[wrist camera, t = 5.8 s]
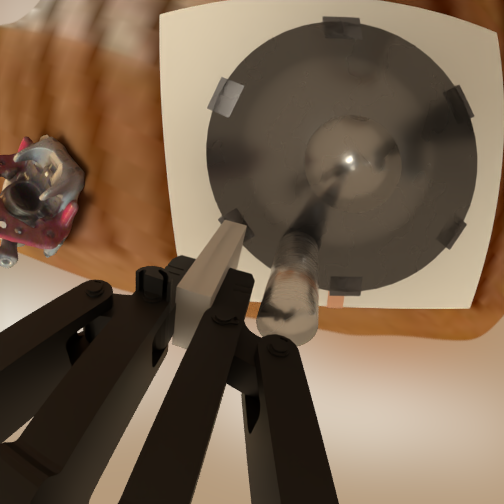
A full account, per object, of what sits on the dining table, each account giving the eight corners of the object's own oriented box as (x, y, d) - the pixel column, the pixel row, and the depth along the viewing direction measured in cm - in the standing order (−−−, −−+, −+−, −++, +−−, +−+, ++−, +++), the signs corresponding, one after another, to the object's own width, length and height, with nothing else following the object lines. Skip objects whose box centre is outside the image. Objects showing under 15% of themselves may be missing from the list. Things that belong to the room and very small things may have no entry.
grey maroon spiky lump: (109, 182, 20) (-6, 291, 15) (106, 222, 30) (30, 298, 24) (41, 94, 18) (-63, 182, 12) (52, 153, 27) (-22, 220, 22)
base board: (487, 36, 12) (498, 32, 10) (463, 298, 21) (470, 309, 19) (169, 19, 16) (158, 13, 15) (190, 286, 25) (183, 296, 24)
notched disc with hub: (281, -6, 13) (252, -90, 5) (497, 131, 14) (590, 154, 5) (179, 202, 20) (97, 262, 12) (380, 309, 21) (402, 410, 12)
